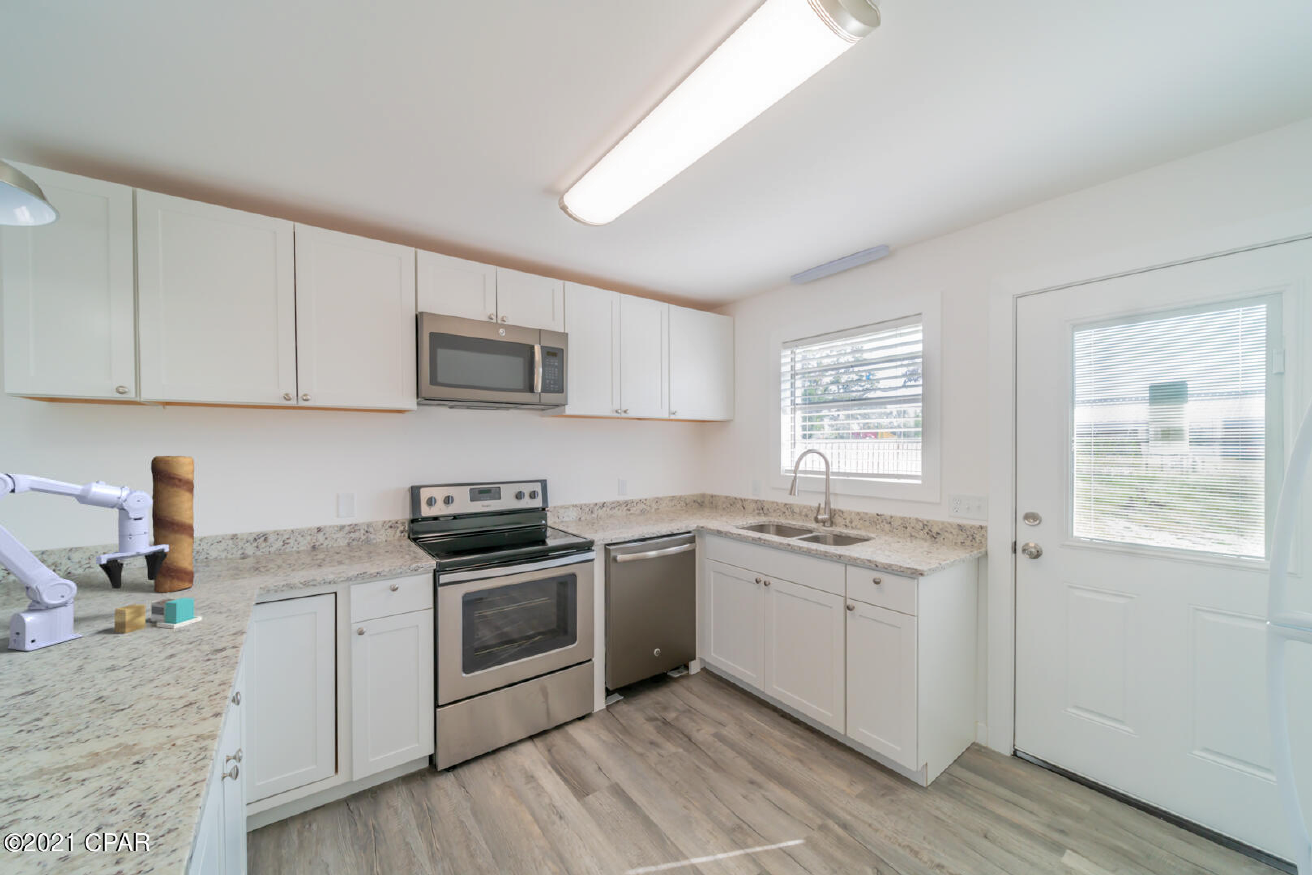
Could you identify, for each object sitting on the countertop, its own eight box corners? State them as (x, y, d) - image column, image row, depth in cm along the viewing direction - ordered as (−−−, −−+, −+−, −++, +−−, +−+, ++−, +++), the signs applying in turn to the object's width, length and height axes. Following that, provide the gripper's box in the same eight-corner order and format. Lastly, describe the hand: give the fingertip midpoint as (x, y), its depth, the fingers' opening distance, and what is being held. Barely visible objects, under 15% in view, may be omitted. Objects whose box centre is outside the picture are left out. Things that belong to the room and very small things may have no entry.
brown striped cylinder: (150, 589, 166) (151, 456, 167) (193, 583, 174) (194, 455, 174) (149, 595, 159) (150, 456, 160) (194, 588, 166) (195, 455, 167)
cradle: (174, 628, 129) (174, 624, 129) (156, 626, 131) (156, 622, 131) (201, 620, 135) (201, 616, 135) (184, 618, 137) (184, 614, 137)
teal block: (176, 625, 130) (176, 603, 131) (165, 624, 132) (165, 602, 132) (193, 620, 134) (194, 598, 134) (183, 619, 135) (183, 597, 135)
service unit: (163, 623, 133) (163, 604, 133) (150, 621, 134) (150, 603, 134) (183, 617, 137) (183, 599, 138) (170, 616, 139) (170, 598, 139)
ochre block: (125, 633, 126) (125, 610, 126) (114, 632, 127) (114, 609, 127) (145, 628, 130) (145, 605, 130) (134, 626, 131) (134, 604, 131)
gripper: (108, 540, 127) (109, 592, 127) (176, 529, 141) (177, 577, 141) (90, 539, 128) (91, 591, 128) (158, 528, 142) (159, 575, 142)
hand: (134, 583), depth 135 cm, fingers open, 7 cm apart
